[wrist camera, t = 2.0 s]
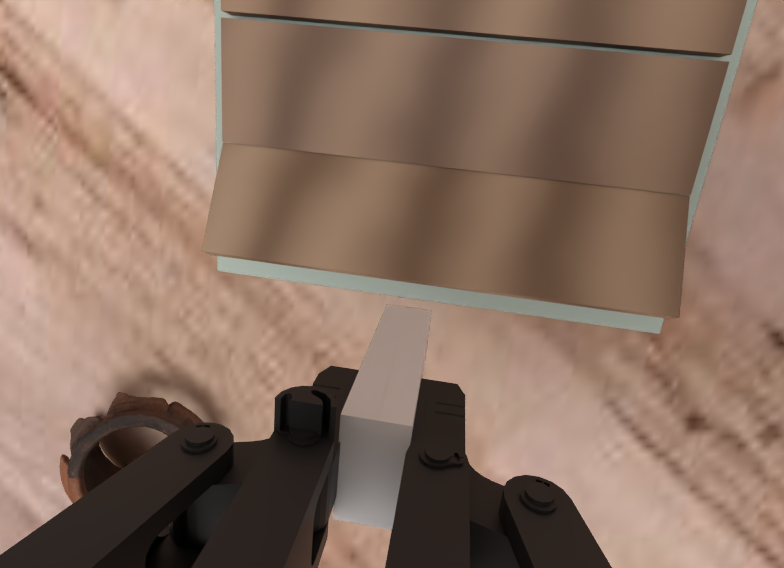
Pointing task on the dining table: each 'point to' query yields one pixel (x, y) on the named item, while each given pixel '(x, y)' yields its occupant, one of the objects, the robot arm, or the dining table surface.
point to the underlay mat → (471, 297)
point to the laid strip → (532, 20)
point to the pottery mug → (124, 412)
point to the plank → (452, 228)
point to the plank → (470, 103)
